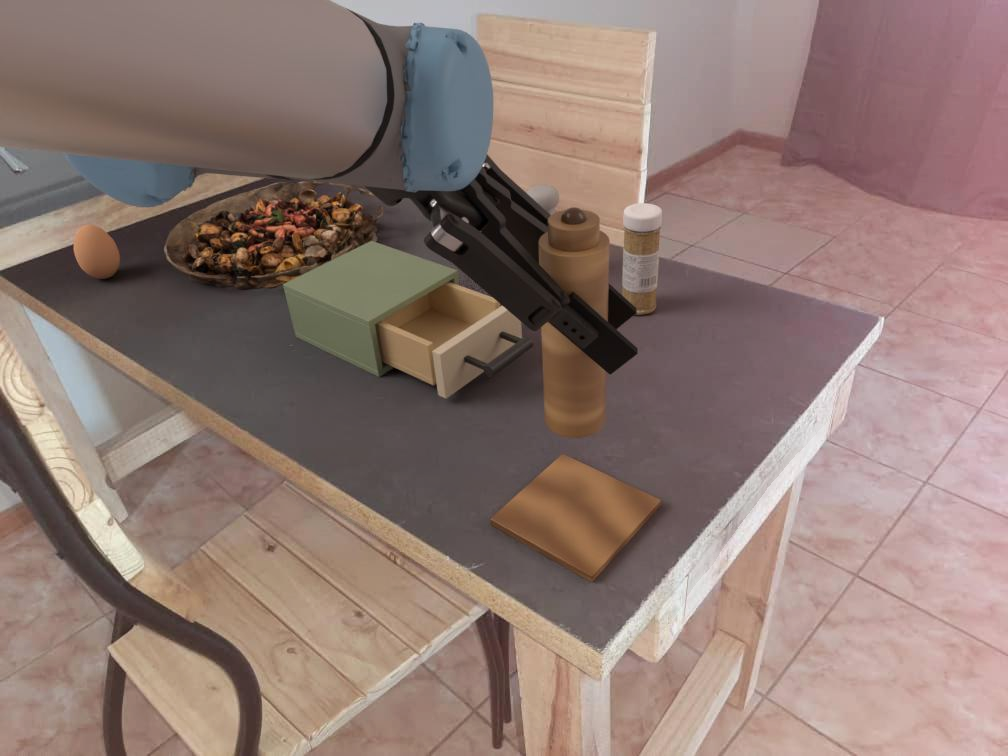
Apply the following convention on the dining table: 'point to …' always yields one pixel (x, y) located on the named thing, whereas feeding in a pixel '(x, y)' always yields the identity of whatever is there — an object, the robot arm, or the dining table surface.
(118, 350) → the dining table surface
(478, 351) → the drawer
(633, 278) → the spice jar
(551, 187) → the salt shaker
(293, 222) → the food dish
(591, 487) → the square wooden board
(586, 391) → the pepper mill
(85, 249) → the egg
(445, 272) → the cabinet
